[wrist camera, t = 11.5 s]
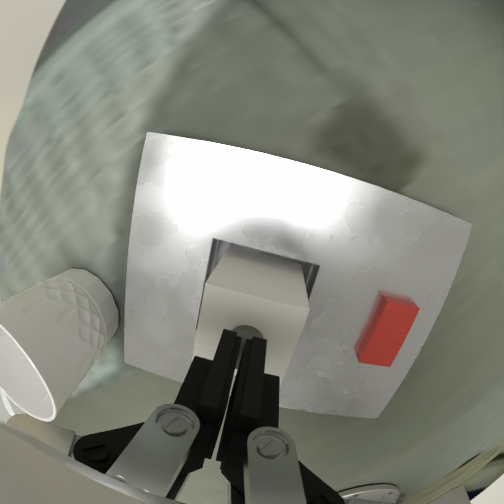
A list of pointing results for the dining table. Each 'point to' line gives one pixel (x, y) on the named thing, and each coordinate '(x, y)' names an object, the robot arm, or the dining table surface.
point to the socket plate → (295, 250)
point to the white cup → (53, 339)
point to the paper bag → (453, 497)
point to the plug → (254, 306)
